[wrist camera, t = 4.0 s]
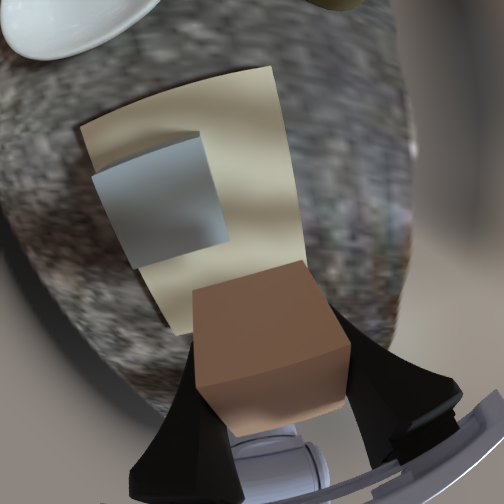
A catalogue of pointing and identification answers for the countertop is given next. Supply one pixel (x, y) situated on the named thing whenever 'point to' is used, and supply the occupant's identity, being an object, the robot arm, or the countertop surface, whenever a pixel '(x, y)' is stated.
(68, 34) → the spoon rest
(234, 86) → the baseboard
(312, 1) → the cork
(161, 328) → the countertop surface
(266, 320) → the terracotta block
